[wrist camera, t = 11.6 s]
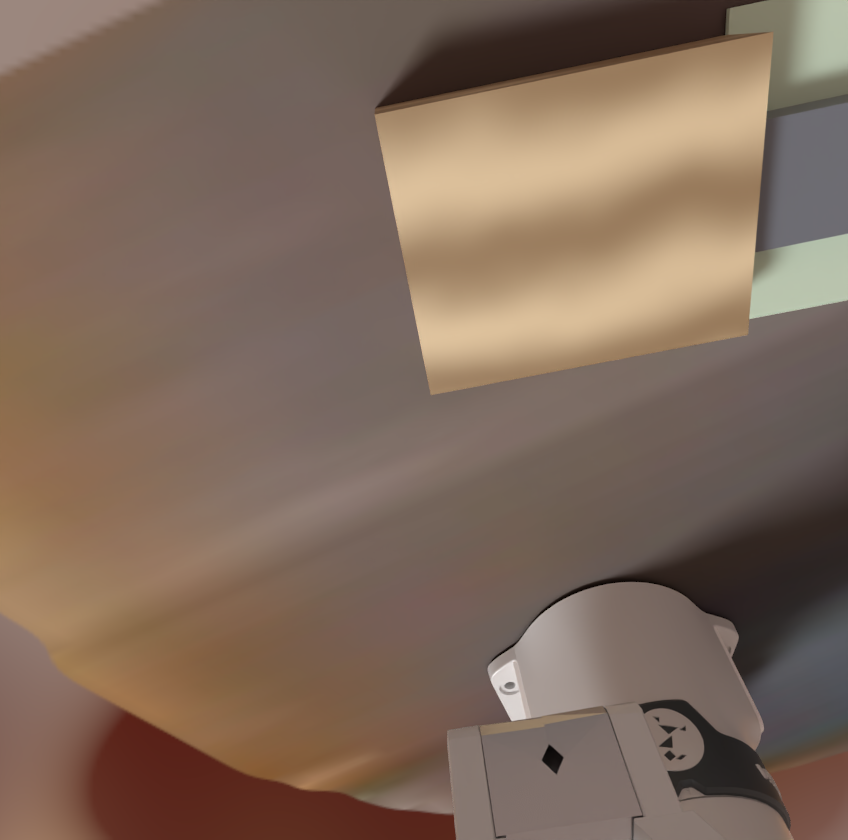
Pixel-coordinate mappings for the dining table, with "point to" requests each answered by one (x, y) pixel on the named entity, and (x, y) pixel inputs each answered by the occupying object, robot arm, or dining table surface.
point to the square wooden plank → (581, 210)
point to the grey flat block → (804, 174)
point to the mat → (792, 85)
